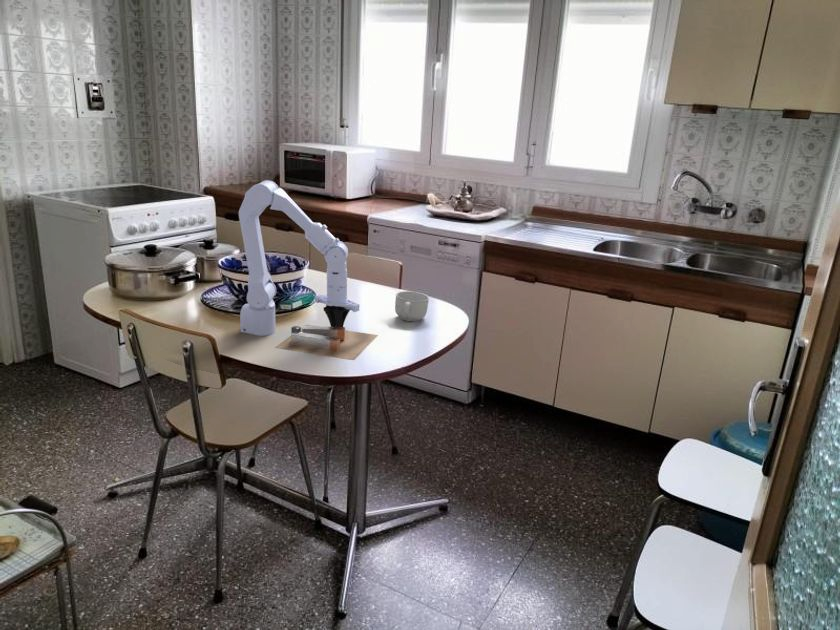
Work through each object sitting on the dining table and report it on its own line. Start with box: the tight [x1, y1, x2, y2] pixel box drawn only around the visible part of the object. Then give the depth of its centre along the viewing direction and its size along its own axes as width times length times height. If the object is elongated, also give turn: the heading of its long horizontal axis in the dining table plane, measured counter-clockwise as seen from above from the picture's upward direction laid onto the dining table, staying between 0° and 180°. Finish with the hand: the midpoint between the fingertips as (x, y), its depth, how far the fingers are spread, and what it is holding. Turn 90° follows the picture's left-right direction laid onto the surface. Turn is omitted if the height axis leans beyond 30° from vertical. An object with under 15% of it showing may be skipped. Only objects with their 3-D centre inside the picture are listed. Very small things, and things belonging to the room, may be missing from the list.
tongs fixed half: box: [290, 325, 340, 351], centre depth 171 cm, size 15×4×4 cm, turn 75°
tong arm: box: [301, 325, 346, 340], centre depth 175 cm, size 12×2×3 cm, turn 93°
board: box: [275, 324, 379, 361], centre depth 175 cm, size 23×20×1 cm
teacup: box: [394, 290, 430, 322], centre depth 198 cm, size 14×11×8 cm
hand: (336, 330), depth 179 cm, fingers closed
